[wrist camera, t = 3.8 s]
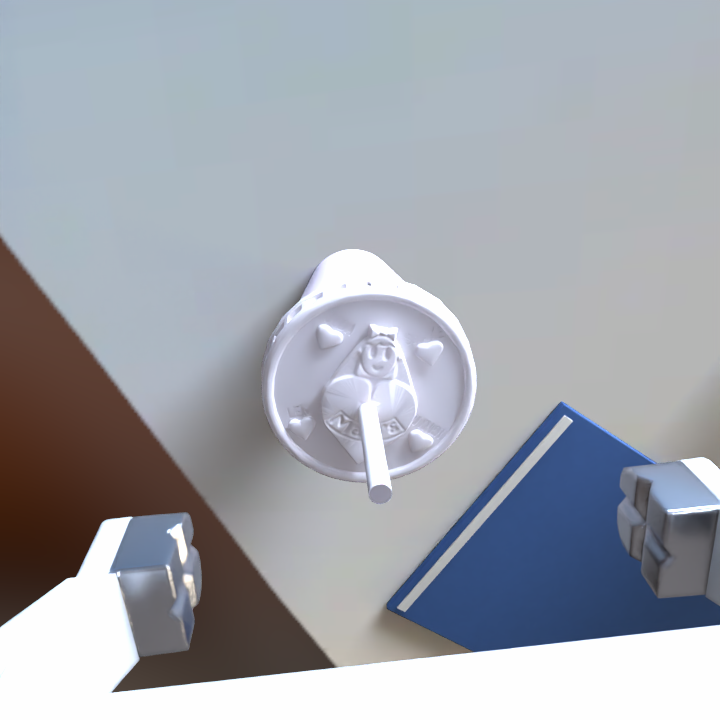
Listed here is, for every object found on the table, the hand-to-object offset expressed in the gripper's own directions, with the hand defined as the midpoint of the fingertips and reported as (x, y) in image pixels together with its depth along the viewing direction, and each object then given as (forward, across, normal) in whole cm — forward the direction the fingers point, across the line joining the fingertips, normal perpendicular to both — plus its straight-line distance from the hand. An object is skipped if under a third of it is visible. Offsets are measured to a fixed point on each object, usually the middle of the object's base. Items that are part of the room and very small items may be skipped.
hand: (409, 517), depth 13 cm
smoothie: (+17, 0, +1) cm, 17 cm away
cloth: (+17, -13, +19) cm, 29 cm away
